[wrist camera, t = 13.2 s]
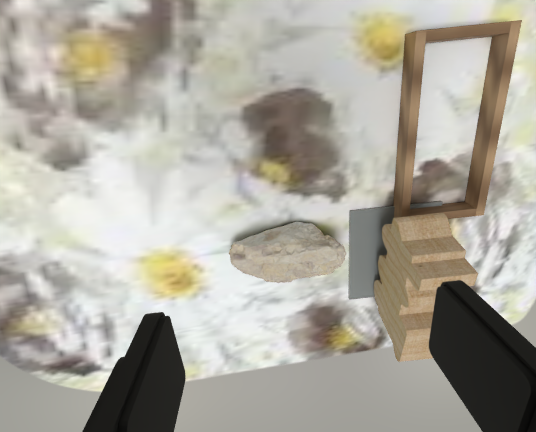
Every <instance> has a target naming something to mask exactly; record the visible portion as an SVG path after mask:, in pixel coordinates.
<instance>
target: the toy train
mask: <svg viewBox="0 0 536 432" xmlns="http://www.w3.org/2000/svg"><path fill="white" fill-rule="evenodd" d="M382 239H383V242H384V245H385V247H386V249H387V255H381V256H379V260H378V270H379V275H380V278H381V280H376V281H375V282H374V296H375V299H376V303H377V305H378V311H379V314H380V316H381V318H382V321H383V323H384V325H385V327H386V329H387V331H388V334H389V336H390V338H391V340H392V342H393V346H394V352H395V356H396V359H397V360H398V361H399V362H401V361H410V360H420V359H429V358H433V357H432V355H431V353H430V350H429V338H430V331H431V324H432V317H433V311H434V304H435V297H436V290H437V288H438V287H440V286H441V284H442V282H446V281H456V280H462V281H463V282H465V283H466V284H467V285H468V286H473V285H474V284H475V281H476V278H477V275H478V273H477V272H476V271H475V269H474V268H473V267H472V266H471V265H470V264H469V263H468V261H467V260H466V259H465V254H466V250H465V249H464V248H463V247H462V246H461V245H460V244H459V243H458V242H457V240H456V239H455V238H454V237H453V236H452V232H451V229H450V225H449V222H448V218H447V216H446V215H445V214H444V213H436V214H426V215H416V216H407V217H397V218H393V221H392V224H385V225H384V226H383V227H382Z"/></svg>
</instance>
